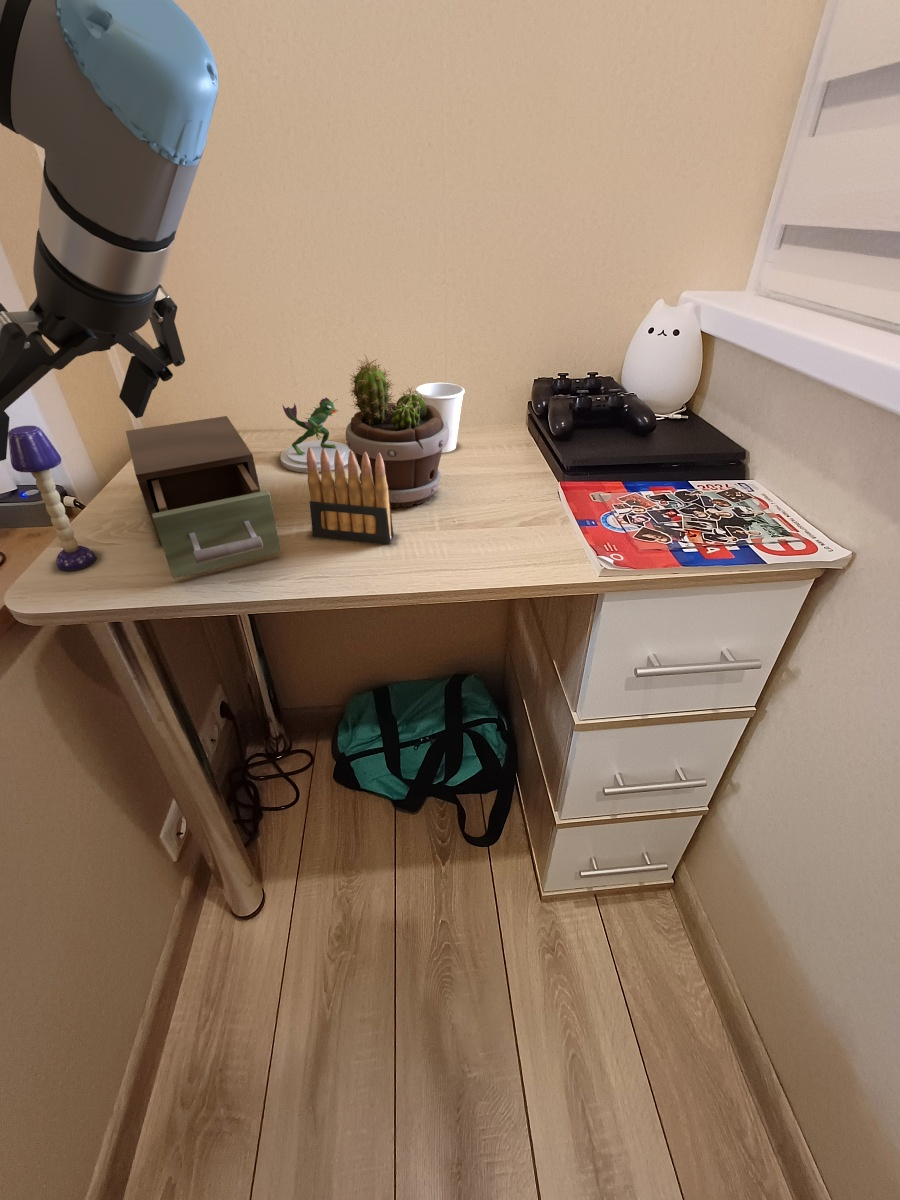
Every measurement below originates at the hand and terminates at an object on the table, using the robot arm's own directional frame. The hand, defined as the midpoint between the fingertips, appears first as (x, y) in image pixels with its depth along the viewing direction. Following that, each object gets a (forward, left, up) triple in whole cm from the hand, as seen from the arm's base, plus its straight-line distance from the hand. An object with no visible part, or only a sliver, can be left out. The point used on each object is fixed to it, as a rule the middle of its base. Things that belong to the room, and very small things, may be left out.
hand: (66, 426), depth 55 cm
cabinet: (+11, +17, -19) cm, 27 cm away
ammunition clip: (+27, -1, -19) cm, 33 cm away
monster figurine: (+31, +27, -19) cm, 45 cm away
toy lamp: (-5, +9, -19) cm, 22 cm away
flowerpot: (+38, +8, -19) cm, 43 cm away
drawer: (+11, +2, -18) cm, 21 cm away
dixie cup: (+52, +22, -19) cm, 59 cm away
